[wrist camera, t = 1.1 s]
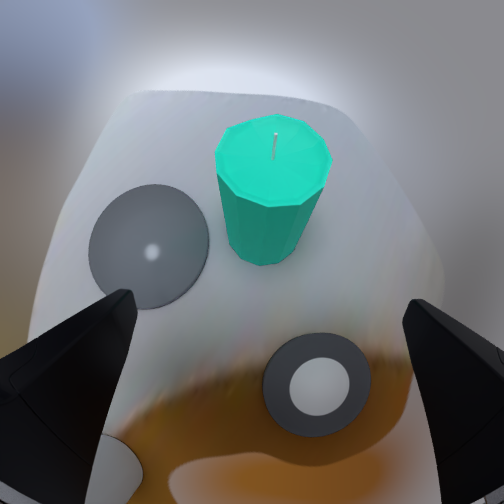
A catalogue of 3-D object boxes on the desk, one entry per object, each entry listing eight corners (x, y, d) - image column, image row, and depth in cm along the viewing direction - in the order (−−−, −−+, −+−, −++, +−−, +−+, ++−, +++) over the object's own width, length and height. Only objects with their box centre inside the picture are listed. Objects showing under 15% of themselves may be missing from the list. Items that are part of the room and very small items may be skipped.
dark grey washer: (368, 410, 19) (378, 416, 17) (274, 440, 18) (277, 449, 16) (349, 321, 21) (358, 319, 19) (251, 347, 20) (252, 348, 18)
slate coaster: (220, 295, 22) (219, 293, 21) (97, 318, 21) (92, 317, 20) (198, 177, 25) (197, 172, 24) (92, 205, 24) (89, 201, 23)
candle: (300, 203, 24) (335, 103, 13) (296, 269, 22) (342, 198, 11) (232, 195, 24) (222, 89, 13) (222, 261, 23) (197, 181, 11)
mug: (157, 460, 17) (93, 533, 6) (133, 503, 15) (77, 570, 4) (66, 395, 18) (-31, 410, 7) (50, 442, 17) (-31, 469, 5)
